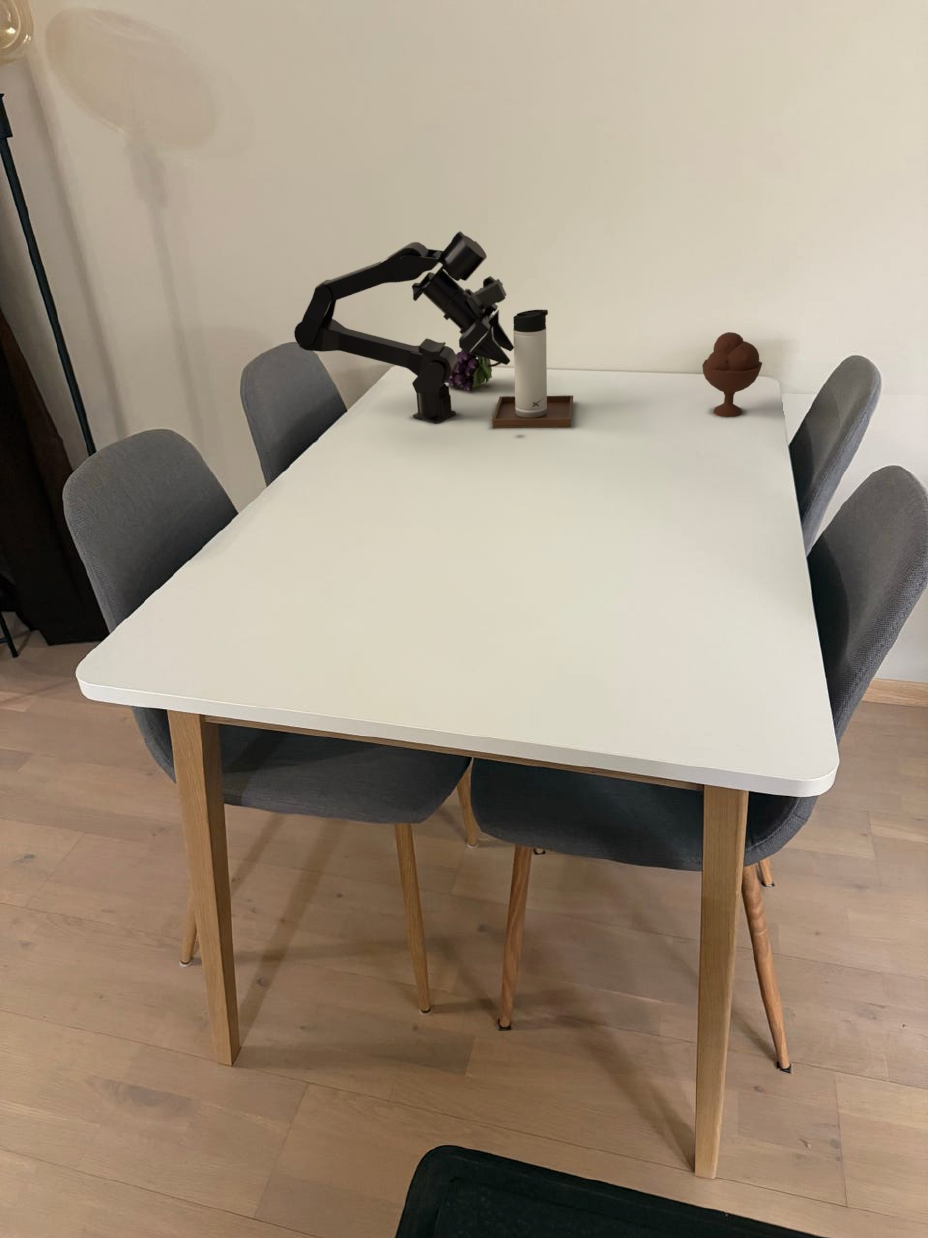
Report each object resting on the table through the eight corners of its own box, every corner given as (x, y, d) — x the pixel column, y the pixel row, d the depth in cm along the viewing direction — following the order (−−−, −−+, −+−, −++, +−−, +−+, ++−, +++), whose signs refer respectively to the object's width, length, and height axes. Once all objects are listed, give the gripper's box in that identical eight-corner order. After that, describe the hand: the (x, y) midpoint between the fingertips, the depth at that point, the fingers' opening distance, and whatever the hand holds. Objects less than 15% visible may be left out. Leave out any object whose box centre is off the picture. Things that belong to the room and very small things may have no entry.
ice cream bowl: (694, 419, 173) (701, 340, 165) (704, 401, 182) (711, 325, 174) (752, 423, 170) (761, 343, 162) (759, 404, 178) (768, 327, 170)
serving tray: (492, 428, 176) (492, 419, 175) (499, 404, 188) (499, 396, 187) (571, 427, 173) (571, 419, 173) (573, 403, 185) (573, 395, 184)
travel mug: (543, 419, 177) (542, 314, 166) (511, 417, 179) (508, 313, 168) (552, 409, 182) (551, 306, 171) (520, 407, 184) (518, 305, 173)
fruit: (448, 395, 204) (511, 379, 199) (435, 402, 195) (501, 385, 190) (435, 349, 201) (499, 332, 196) (422, 355, 191) (489, 336, 187)
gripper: (473, 276, 159) (537, 338, 163) (484, 256, 174) (542, 313, 179) (432, 323, 164) (495, 382, 168) (447, 299, 180) (503, 353, 184)
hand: (510, 355), depth 175 cm, fingers open, 9 cm apart
